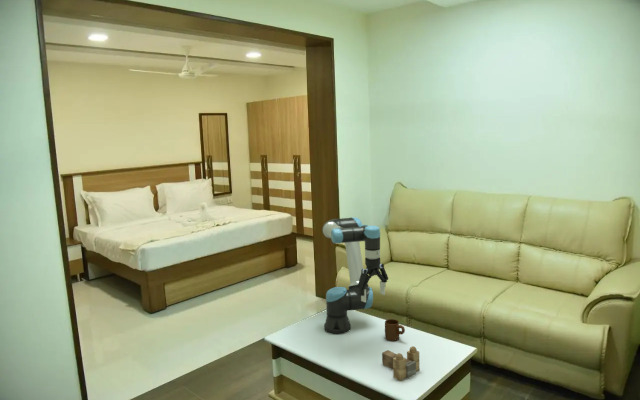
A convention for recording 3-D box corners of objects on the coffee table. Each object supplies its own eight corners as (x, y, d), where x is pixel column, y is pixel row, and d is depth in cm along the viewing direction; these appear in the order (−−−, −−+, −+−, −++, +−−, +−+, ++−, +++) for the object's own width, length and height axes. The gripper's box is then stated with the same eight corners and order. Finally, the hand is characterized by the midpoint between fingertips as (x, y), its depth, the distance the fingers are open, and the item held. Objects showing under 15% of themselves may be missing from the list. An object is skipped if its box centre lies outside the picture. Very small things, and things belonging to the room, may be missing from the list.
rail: (382, 364, 211) (382, 352, 210) (388, 361, 213) (387, 349, 213) (406, 376, 200) (406, 364, 199) (412, 373, 202) (412, 361, 201)
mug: (409, 340, 234) (408, 323, 233) (400, 345, 229) (400, 328, 228) (390, 333, 243) (390, 317, 242) (382, 338, 238) (381, 321, 237)
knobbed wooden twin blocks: (393, 377, 199) (392, 353, 198) (412, 366, 208) (412, 343, 206) (402, 381, 195) (401, 357, 194) (421, 371, 204) (421, 347, 202)
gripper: (360, 264, 209) (360, 306, 212) (395, 253, 224) (395, 293, 228) (349, 261, 214) (350, 302, 218) (384, 250, 230) (384, 289, 234)
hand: (373, 297), depth 223 cm, fingers open, 13 cm apart
